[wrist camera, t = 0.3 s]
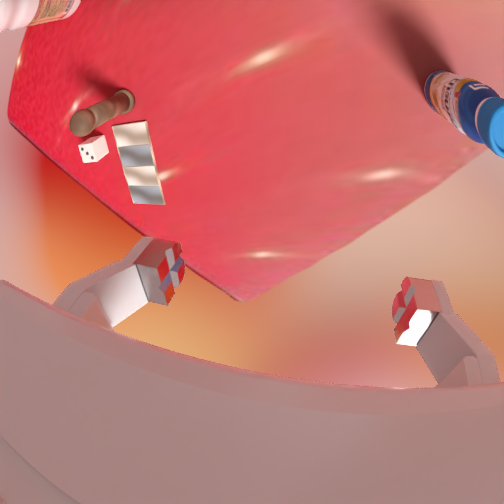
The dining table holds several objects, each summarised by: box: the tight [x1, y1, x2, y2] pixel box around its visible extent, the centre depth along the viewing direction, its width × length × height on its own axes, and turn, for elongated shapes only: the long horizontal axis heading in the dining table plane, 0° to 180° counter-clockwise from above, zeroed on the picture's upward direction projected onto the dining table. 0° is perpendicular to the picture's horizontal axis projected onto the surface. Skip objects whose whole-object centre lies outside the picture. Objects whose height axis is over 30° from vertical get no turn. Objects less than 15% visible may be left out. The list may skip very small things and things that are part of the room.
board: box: [112, 121, 166, 205], centre depth 54 cm, size 20×9×1 cm, turn 3°
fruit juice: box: [0, 0, 81, 33], centre depth 16 cm, size 9×9×28 cm
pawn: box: [70, 89, 135, 137], centre depth 39 cm, size 5×5×15 cm
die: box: [78, 135, 109, 163], centre depth 50 cm, size 5×5×5 cm
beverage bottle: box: [424, 70, 504, 158], centre depth 23 cm, size 8×8×20 cm
